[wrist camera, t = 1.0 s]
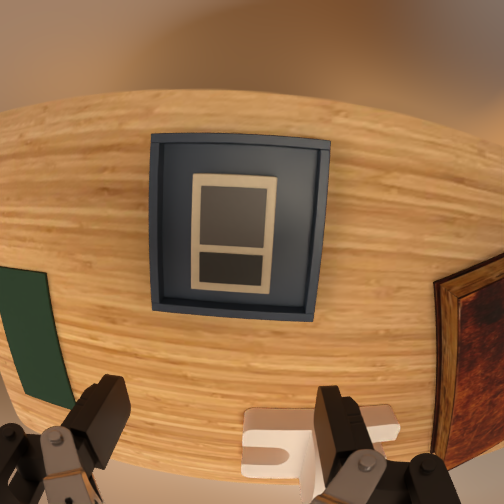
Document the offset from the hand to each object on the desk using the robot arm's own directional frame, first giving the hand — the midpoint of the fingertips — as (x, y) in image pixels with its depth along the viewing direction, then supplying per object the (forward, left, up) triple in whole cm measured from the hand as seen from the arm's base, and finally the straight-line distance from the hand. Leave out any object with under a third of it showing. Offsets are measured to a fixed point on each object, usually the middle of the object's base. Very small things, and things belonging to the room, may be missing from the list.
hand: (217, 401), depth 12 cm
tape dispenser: (+21, +10, -18) cm, 29 cm away
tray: (-4, -1, -18) cm, 18 cm away
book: (+10, +36, -18) cm, 41 cm away
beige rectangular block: (-4, -1, -17) cm, 18 cm away
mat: (+12, -27, -18) cm, 34 cm away
